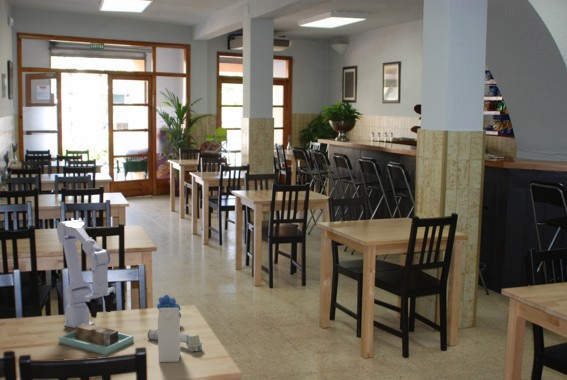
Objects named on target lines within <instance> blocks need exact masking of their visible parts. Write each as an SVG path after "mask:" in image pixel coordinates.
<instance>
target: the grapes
mask: <svg viewBox="0 0 567 380" xmlns="http://www.w3.org/2000/svg"><path fill="white" fill-rule="evenodd" d="M156 307H157V309H158V310H159V308H179V315H180V318H181V317H182V314H181V312H180V311H181V306H180V305H179V304H178V303H177V300H176V298H174V297H170V296H169V295H168V294H164V295H163V297H162V296H160V297H159V298H158V304H157V305H156Z"/></svg>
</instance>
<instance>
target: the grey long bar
mask: <svg viewBox="0 0 567 380" xmlns="http://www.w3.org/2000/svg"><path fill="white" fill-rule="evenodd" d="M147 338H148V339H149V340H151V341H152V340H153V341H156V342H158V328H157V329H149V330H148V332H147ZM180 343H183V344H184V343H186V344H185V346H186V347H187V351H189V352H200V351H202V349H203V347H202V345H203V341H201V340H200V336H199V334H198V333H191V334H187V333H181V332H180Z"/></svg>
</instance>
